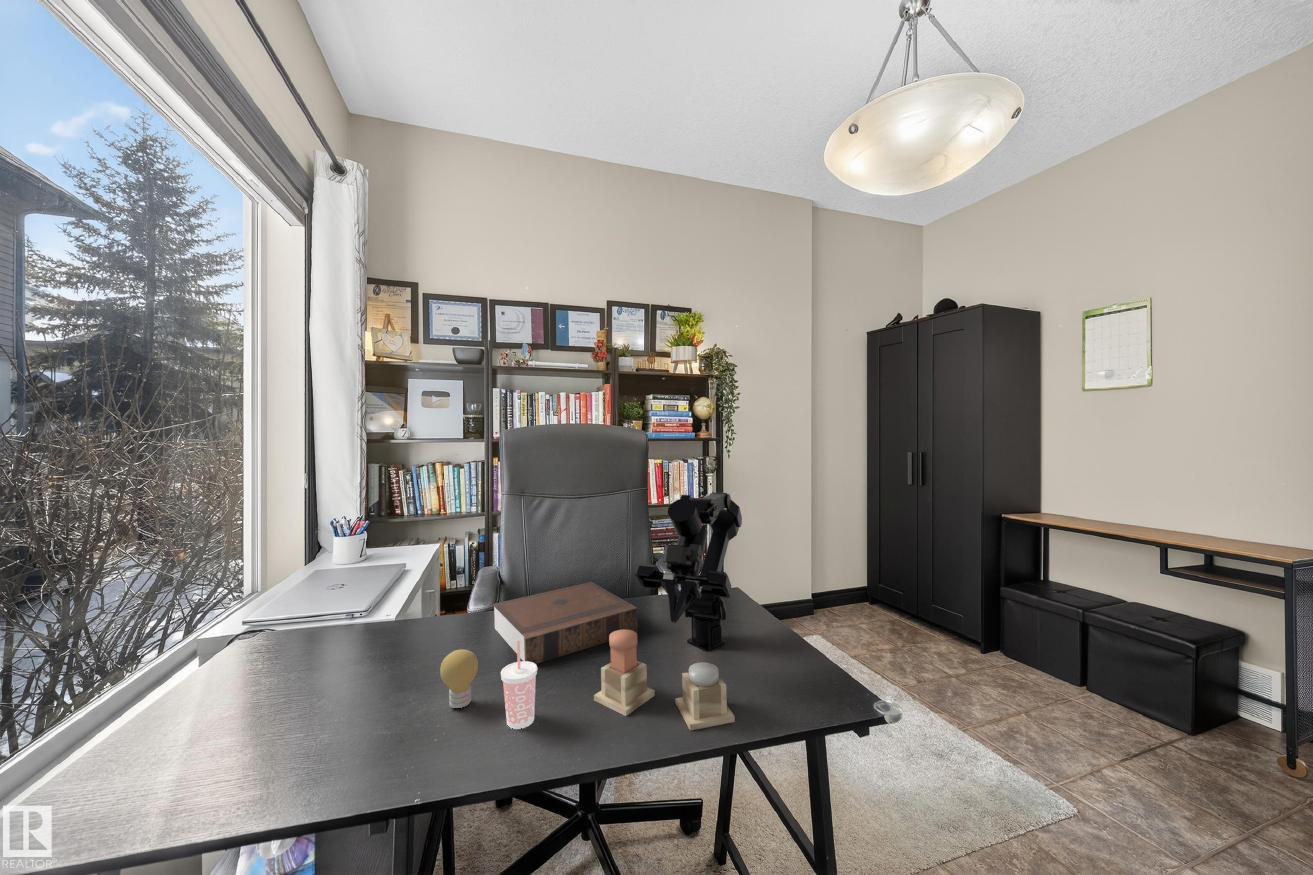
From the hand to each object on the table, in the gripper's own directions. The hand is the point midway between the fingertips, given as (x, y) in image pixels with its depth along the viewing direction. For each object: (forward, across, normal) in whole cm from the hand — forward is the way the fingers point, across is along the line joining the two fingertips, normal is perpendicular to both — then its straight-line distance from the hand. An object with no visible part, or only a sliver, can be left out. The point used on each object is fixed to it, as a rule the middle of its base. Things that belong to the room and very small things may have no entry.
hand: (673, 621), depth 91 cm
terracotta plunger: (+9, -8, +2) cm, 13 cm away
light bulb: (+22, -36, -2) cm, 42 cm away
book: (-2, -35, +22) cm, 42 cm away
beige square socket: (+13, +7, +7) cm, 16 cm away
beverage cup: (+22, -22, -2) cm, 31 cm away
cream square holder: (+13, -8, +6) cm, 17 cm away
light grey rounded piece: (+12, +7, +6) cm, 15 cm away
